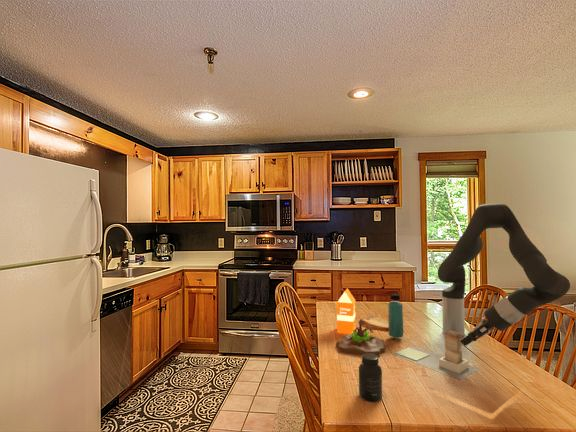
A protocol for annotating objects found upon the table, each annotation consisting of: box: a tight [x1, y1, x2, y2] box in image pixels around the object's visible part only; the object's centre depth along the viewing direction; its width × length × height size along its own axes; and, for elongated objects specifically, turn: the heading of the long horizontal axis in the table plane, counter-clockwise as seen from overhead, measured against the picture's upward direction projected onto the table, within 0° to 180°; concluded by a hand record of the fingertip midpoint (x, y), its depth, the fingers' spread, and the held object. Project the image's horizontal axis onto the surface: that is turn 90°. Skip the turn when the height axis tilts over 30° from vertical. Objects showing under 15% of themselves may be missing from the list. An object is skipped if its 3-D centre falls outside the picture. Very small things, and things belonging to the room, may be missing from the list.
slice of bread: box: [358, 315, 389, 332], centre depth 164 cm, size 18×18×4 cm
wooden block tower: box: [444, 330, 463, 364], centre depth 114 cm, size 4×4×12 cm
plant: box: [335, 319, 386, 357], centre depth 136 cm, size 20×20×11 cm
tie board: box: [392, 345, 480, 381], centre depth 119 cm, size 14×26×4 cm, turn 36°
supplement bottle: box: [358, 353, 383, 403], centre depth 96 cm, size 7×7×12 cm
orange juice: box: [336, 288, 356, 335], centre depth 156 cm, size 8×9×20 cm
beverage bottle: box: [387, 293, 404, 339], centre depth 145 cm, size 6×7×20 cm
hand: (466, 340), depth 111 cm, fingers open, 8 cm apart
